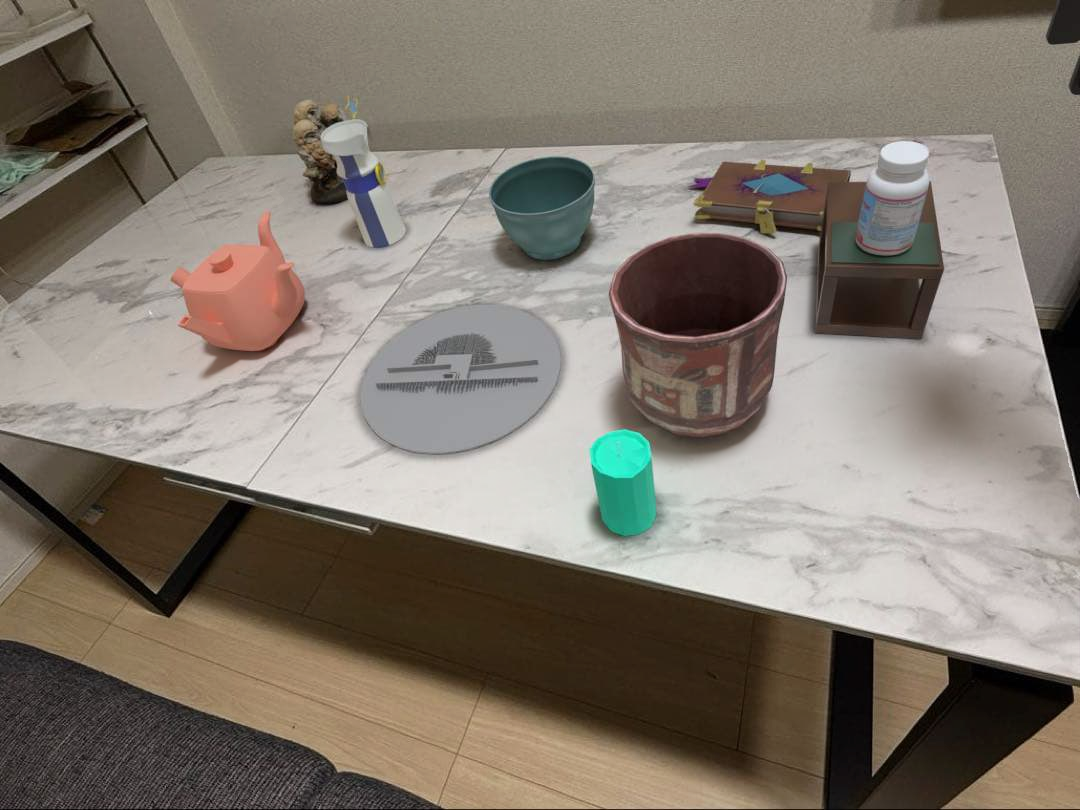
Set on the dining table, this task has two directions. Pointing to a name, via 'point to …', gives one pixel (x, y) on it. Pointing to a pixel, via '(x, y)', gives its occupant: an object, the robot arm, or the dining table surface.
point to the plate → (460, 379)
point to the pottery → (699, 330)
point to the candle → (624, 481)
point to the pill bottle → (894, 199)
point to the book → (767, 194)
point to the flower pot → (545, 204)
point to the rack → (874, 273)
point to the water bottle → (363, 180)
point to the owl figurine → (318, 150)
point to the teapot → (242, 294)
